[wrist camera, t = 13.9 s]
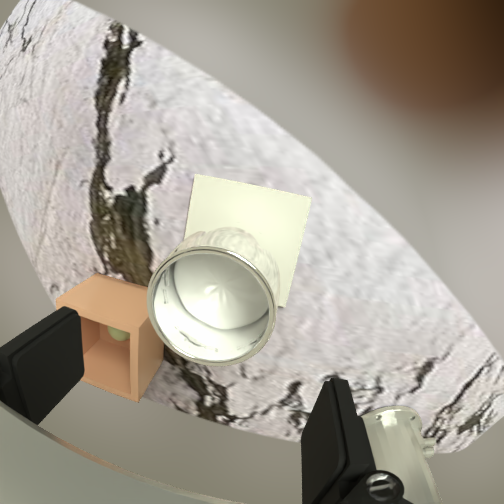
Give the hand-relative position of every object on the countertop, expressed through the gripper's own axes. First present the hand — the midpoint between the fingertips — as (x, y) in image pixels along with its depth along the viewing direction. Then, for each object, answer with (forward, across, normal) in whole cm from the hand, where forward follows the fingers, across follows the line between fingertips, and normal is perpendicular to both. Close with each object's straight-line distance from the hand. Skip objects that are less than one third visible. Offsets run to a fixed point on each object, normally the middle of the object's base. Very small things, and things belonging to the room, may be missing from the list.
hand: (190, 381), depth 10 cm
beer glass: (+20, +1, -1) cm, 20 cm away
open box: (+20, +12, +11) cm, 26 cm away
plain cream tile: (+20, +1, -1) cm, 20 cm away
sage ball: (+18, +12, +11) cm, 24 cm away
